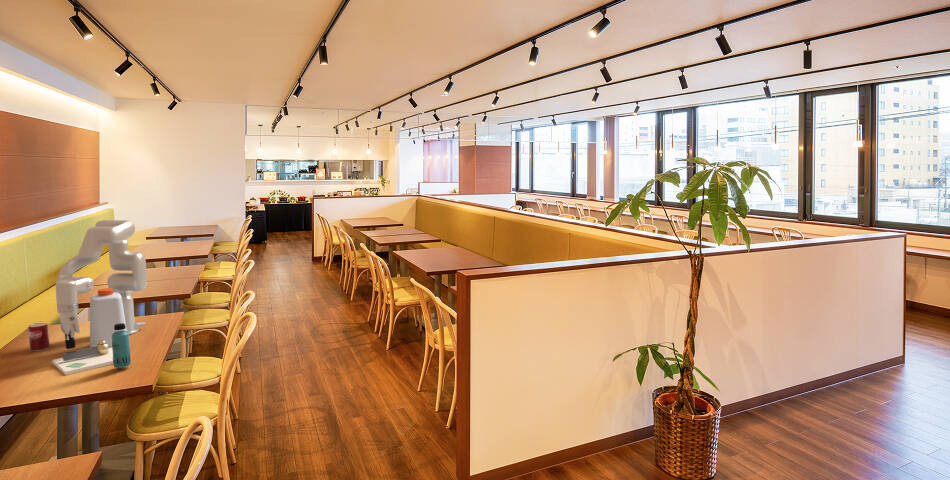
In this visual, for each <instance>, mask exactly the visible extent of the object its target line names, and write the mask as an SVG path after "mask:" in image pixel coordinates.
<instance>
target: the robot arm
mask: <svg viewBox="0 0 950 480" xmlns="http://www.w3.org/2000/svg"><path fill="white" fill-rule="evenodd" d="M135 232H136V225H135V223H133V222H132V221H131V220H127V219H126V220H125V219H124V220H123V219H104V220H103V219H102V220H98V221H96V223H95V226H92V227H90V228H88V229H87V230H86V232H85V235H84V238H83V240H82V243H81V245H80V247H79V250H78V253H77V255H75V256H74V257H72V258H70V260H69V261H67V262H66V263H65V264H64V265H62V267H61V268H60V271H59V272H58V275H57V276H56V277H57V278H56V281H55V298H56V299H55V300H56V311H57V313H58V314H59V321H60V330H61V332H62V333H64V339H65V342H64V343H65V349H67V350H70V349H71V350H72V349H75V348H76V334H75V333H77V334H79V333H80V332H81V330H80V321H79V315H78V311H79V299H78V295H81V294H82V295H83V294H87V293H88V294H89V293H90V292H91V291H92V290H93V289H94V288H95V280H94V279H92V278H91V277H89V276H73V275H74V274H75V273H76V272H77V271H78V270H80V269H82V268H85V267H86V266H89V265H92V264H94V263H96V262H98V261H99V260H100V259H101V255H102V252H103V251H104V247H105V246H106V245H107V246H108V247H107V248H108V257H109V258H108V259H109V260H108V261H109V265H110V268H111V269H112V270H113V271H114V270H115V271H121V272H115V273H112V274H111V275H109V276H108V277H107V281H106V282H107V287H108V288H111V289H113V293H119V294H120V295H121V297H122V303H123V310H124V316H125V322H126V329H127V332H128V333H129V335H133V334H136V333H138V332H139V327H144V326H146V322H145V321H143V322H141V321H140V322H139V321H138V322H136V321H135V312H134V311H135V310H134V309H135V307H134V298H133V296H132V294H131V292H143V291H144V290H145V289H146V287H147V285H148V275H147V261H146V258H145V256H144V255H143V254H142V253H141V252H138V251H137V252H136V251H130V250H129V242H128V239H129V238H131V237H132V236H134V234H135ZM123 271H124V272H123ZM126 271H127V272H126ZM128 271H130V272H128Z"/></svg>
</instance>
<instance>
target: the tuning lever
mask: <svg viewBox="0 0 950 480" xmlns="http://www.w3.org/2000/svg"><path fill="white" fill-rule="evenodd" d="M106 353H108V343H106V341H105V340H101V341H98V344H97V345H96V347H91V348H90V347H88V348H82V349H77V350H73V351H68V352H62V358H63V361H68V360H73V359H77V358H82V357H87V356H91V355H96V354H98V355H101V354H106Z"/></svg>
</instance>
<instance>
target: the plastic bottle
mask: <svg viewBox="0 0 950 480" xmlns="http://www.w3.org/2000/svg"><path fill="white" fill-rule="evenodd" d="M89 301H90V302H89V348H91V347H96V345H97V344H98V341H101V340H105V341H106V343H108V348H111V347H112V334H113V333H114V332H116V331H121V330H114V325H115V324H119V323H124V324H125V327H126V322H125V316H124V310H123V303H122V297H121V295H120V294H119V293H113V289H111V288H101V289H98V290H97V293H95V294H93V295H91V296H90V298H89ZM123 330H124V331H127V329H126V328H125V329H123Z"/></svg>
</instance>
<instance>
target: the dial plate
mask: <svg viewBox="0 0 950 480" xmlns="http://www.w3.org/2000/svg"><path fill="white" fill-rule="evenodd" d="M51 361H52V362H51V363H52V364H53V365H54V366H55V367H56V368H57V369H58V370H59V371H60V372H62V373H63V375H65V376H68V375H73V374H76V373H82V372H87V371H89V370H90V371H91V370H93V369H98V368H103V367H107V366H111V364H112V365H114V364H113V349H112V347H111V348H108V353H106V354H101V355H98V354H96V355H91V356H87V357H82V358H77V359H73V360H68V361H63V357H60V358H55V359H52V360H51Z"/></svg>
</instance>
